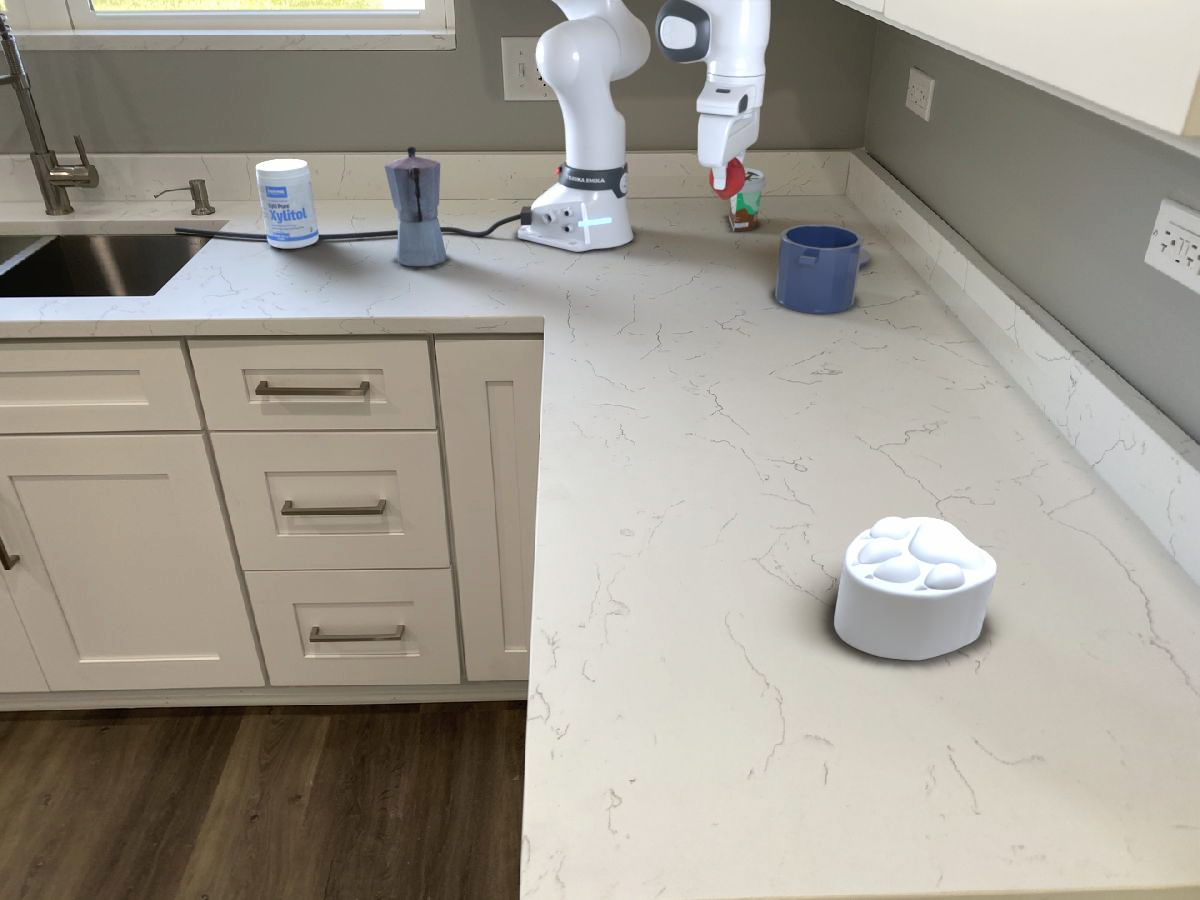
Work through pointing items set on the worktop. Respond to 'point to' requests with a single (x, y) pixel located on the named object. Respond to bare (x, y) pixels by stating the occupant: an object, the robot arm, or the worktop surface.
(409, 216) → the moka pot
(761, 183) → the food container
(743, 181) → the onion
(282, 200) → the supplement tub
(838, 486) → the worktop surface
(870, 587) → the lumpy-topped squat cylinder
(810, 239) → the pot
